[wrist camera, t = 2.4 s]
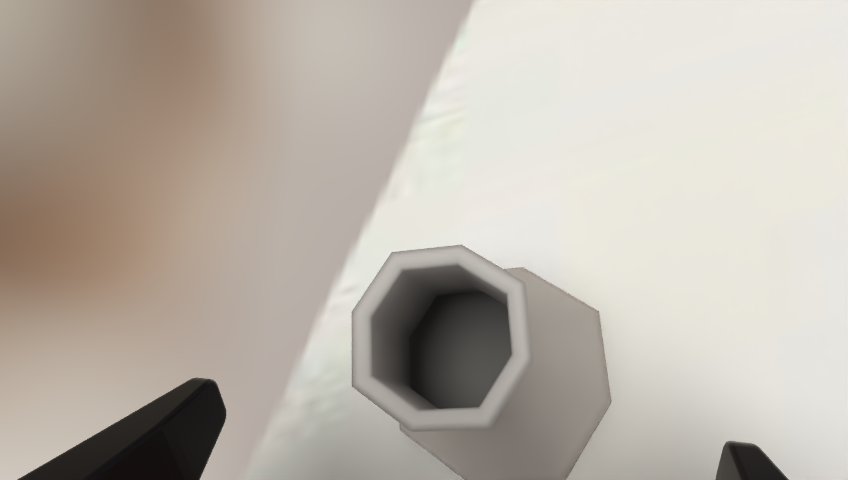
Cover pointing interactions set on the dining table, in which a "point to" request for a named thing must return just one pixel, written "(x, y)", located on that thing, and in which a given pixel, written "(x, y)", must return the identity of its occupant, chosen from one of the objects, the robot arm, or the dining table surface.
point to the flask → (481, 363)
